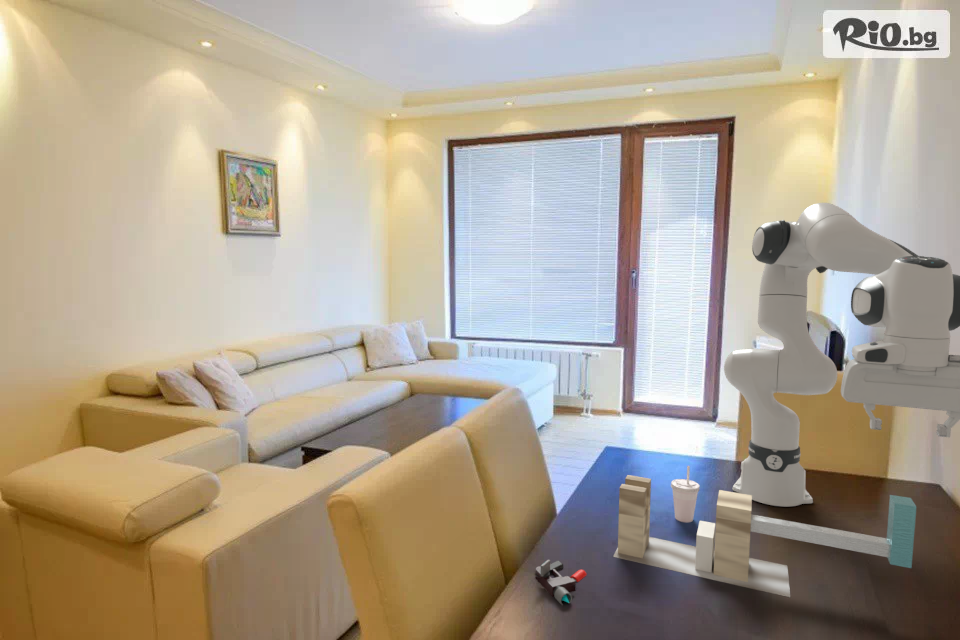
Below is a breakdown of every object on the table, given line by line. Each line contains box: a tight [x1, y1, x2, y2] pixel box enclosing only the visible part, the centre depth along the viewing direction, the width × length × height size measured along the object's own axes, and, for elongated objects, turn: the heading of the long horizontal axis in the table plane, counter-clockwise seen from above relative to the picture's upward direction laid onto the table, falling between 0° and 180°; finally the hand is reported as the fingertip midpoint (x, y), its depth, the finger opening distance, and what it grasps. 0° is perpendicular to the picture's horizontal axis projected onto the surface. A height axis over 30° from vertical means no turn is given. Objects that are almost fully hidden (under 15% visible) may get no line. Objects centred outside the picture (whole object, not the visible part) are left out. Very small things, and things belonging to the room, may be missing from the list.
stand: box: [613, 474, 791, 598], centre depth 113 cm, size 12×32×15 cm, turn 64°
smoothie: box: [670, 465, 701, 523], centre depth 133 cm, size 6×6×14 cm
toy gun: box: [534, 559, 587, 606], centre depth 107 cm, size 10×12×5 cm
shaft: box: [750, 494, 917, 569], centre depth 104 cm, size 4×27×11 cm, turn 64°
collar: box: [695, 520, 716, 573], centre depth 113 cm, size 7×3×7 cm, turn 154°
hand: (908, 432), depth 97 cm, fingers open, 8 cm apart
